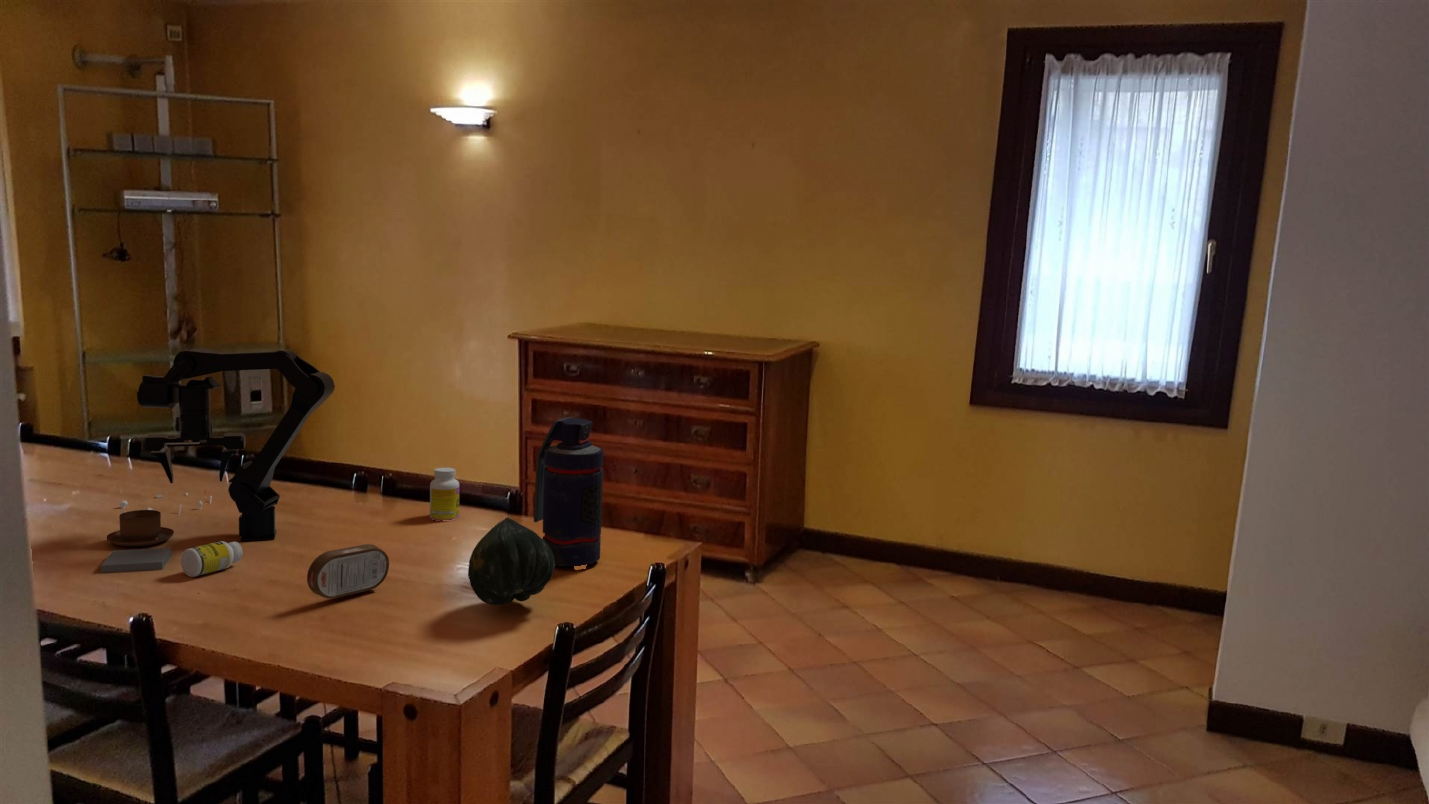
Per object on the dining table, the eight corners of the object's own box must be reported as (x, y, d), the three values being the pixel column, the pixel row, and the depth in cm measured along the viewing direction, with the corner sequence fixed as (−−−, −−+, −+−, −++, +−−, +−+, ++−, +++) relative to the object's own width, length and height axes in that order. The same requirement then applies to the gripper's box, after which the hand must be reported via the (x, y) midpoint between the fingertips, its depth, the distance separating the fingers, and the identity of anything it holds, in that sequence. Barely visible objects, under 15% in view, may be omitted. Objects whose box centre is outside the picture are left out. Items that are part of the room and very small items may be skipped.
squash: (453, 602, 173) (454, 520, 171) (524, 586, 183) (526, 509, 181) (496, 624, 163) (498, 538, 161) (569, 606, 173) (571, 525, 171)
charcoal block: (171, 557, 193) (171, 547, 193) (162, 572, 184) (162, 562, 183) (113, 560, 189) (113, 550, 189) (101, 575, 180) (101, 565, 180)
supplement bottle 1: (182, 543, 180) (230, 533, 188) (177, 568, 181) (224, 557, 190) (201, 557, 178) (247, 546, 186) (195, 582, 179) (241, 570, 188)
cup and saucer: (113, 537, 204) (112, 508, 203) (177, 533, 208) (177, 506, 207) (101, 552, 193) (100, 522, 192) (169, 549, 197) (169, 519, 196)
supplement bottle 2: (460, 526, 225) (461, 471, 223) (431, 527, 222) (431, 472, 221) (457, 519, 231) (457, 466, 229) (428, 520, 228) (428, 467, 227)
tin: (382, 582, 182) (382, 539, 181) (391, 586, 180) (392, 542, 179) (305, 600, 171) (305, 554, 170) (315, 604, 169) (314, 558, 168)
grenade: (608, 559, 204) (613, 418, 200) (586, 574, 192) (590, 426, 189) (548, 551, 207) (552, 413, 204) (523, 566, 196) (526, 420, 192)
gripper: (246, 403, 214) (248, 473, 215) (150, 404, 207) (152, 476, 208) (242, 410, 203) (244, 483, 205) (141, 411, 196) (143, 486, 198)
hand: (196, 482), depth 205 cm, fingers open, 9 cm apart
